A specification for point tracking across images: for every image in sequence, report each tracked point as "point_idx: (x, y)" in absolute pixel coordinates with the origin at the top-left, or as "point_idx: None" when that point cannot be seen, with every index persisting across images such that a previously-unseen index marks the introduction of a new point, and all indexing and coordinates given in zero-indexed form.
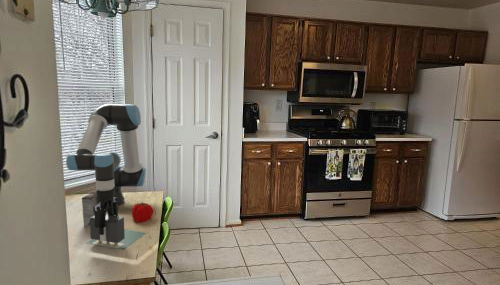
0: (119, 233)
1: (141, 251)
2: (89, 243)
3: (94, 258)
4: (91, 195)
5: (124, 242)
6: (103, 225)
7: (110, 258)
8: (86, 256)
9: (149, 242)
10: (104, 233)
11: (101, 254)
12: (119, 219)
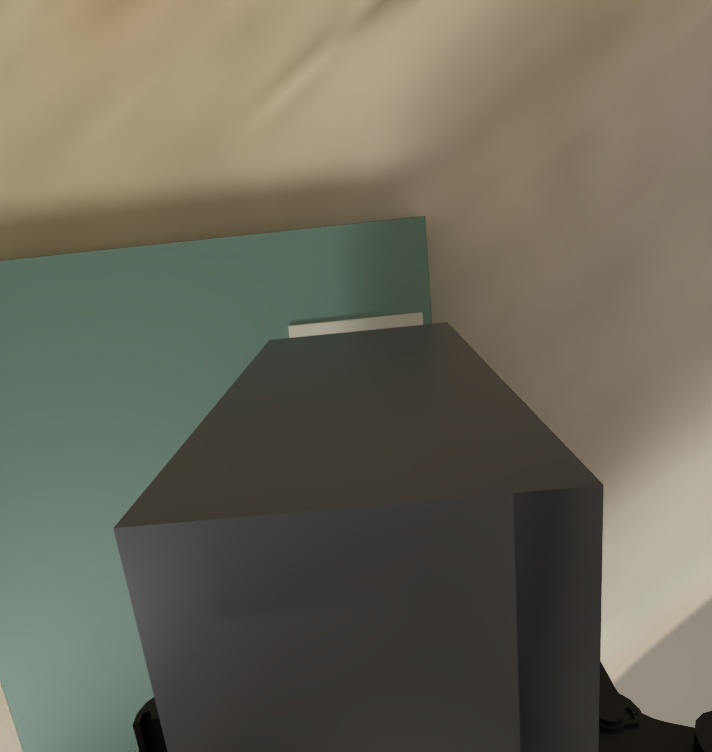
0: (402, 358)
1: (288, 15)
2: None
3: (640, 436)
4: None
5: (254, 356)
6: (619, 744)
7: (586, 272)
8: (627, 539)
9: (29, 95)
10: None
11: None
12: (369, 535)
